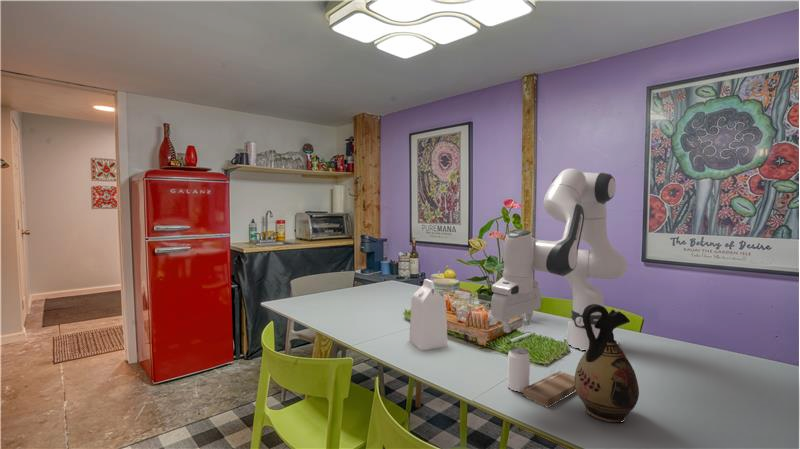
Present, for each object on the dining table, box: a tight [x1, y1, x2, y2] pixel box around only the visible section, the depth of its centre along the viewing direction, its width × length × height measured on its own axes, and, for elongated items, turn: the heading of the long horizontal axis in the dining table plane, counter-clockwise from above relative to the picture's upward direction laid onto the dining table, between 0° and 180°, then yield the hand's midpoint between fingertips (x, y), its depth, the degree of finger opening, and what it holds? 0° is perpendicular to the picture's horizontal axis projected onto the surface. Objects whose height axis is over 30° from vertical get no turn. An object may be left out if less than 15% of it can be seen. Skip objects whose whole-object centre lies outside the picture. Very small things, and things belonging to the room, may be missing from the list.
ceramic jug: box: [574, 304, 640, 423], centre depth 103 cm, size 17×15×30 cm
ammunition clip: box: [463, 312, 490, 344], centre depth 155 cm, size 11×2×12 cm, turn 55°
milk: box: [408, 278, 448, 351], centre depth 154 cm, size 12×12×26 cm
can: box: [506, 346, 531, 393], centre depth 118 cm, size 6×6×12 cm
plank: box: [522, 370, 576, 408], centre depth 116 cm, size 20×8×2 cm, turn 127°
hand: (517, 328), depth 116 cm, fingers open, 8 cm apart
